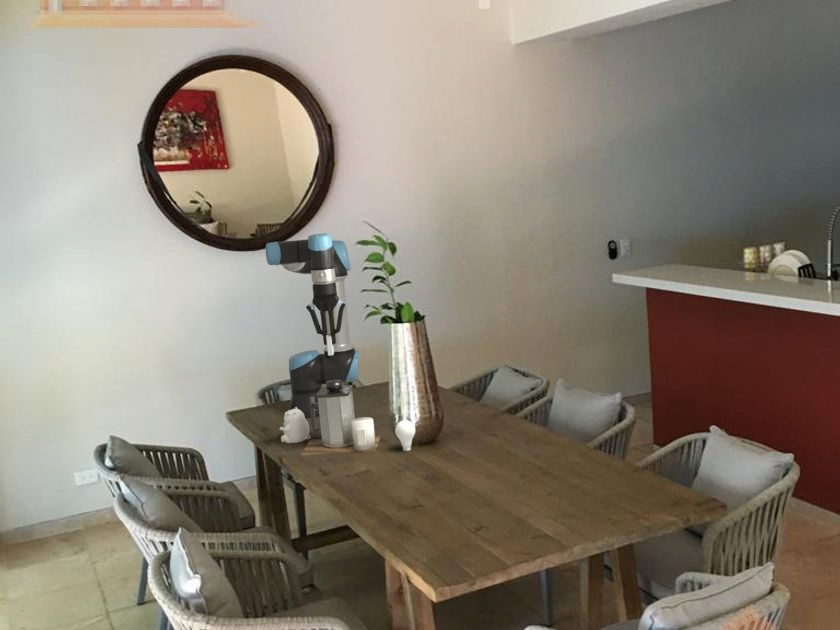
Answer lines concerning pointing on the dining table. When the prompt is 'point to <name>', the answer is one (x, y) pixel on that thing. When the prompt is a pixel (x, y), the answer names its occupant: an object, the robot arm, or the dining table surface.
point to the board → (318, 448)
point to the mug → (363, 433)
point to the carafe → (334, 416)
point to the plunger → (334, 385)
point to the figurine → (295, 427)
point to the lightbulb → (405, 433)
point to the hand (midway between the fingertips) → (331, 354)
